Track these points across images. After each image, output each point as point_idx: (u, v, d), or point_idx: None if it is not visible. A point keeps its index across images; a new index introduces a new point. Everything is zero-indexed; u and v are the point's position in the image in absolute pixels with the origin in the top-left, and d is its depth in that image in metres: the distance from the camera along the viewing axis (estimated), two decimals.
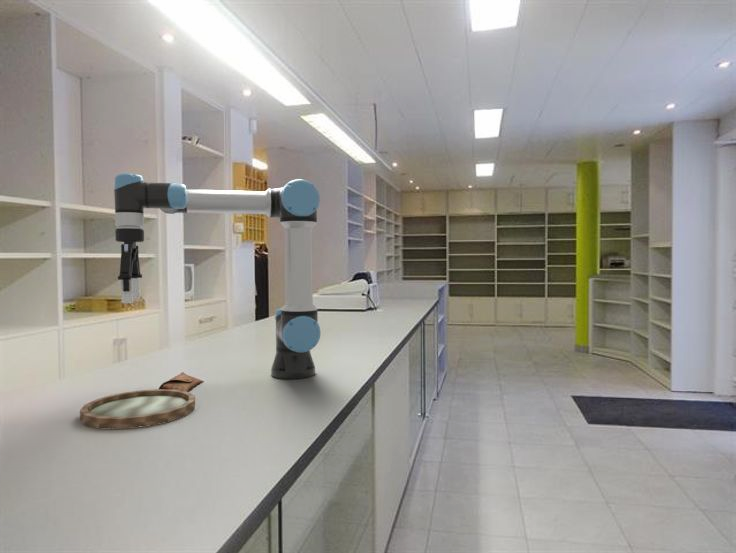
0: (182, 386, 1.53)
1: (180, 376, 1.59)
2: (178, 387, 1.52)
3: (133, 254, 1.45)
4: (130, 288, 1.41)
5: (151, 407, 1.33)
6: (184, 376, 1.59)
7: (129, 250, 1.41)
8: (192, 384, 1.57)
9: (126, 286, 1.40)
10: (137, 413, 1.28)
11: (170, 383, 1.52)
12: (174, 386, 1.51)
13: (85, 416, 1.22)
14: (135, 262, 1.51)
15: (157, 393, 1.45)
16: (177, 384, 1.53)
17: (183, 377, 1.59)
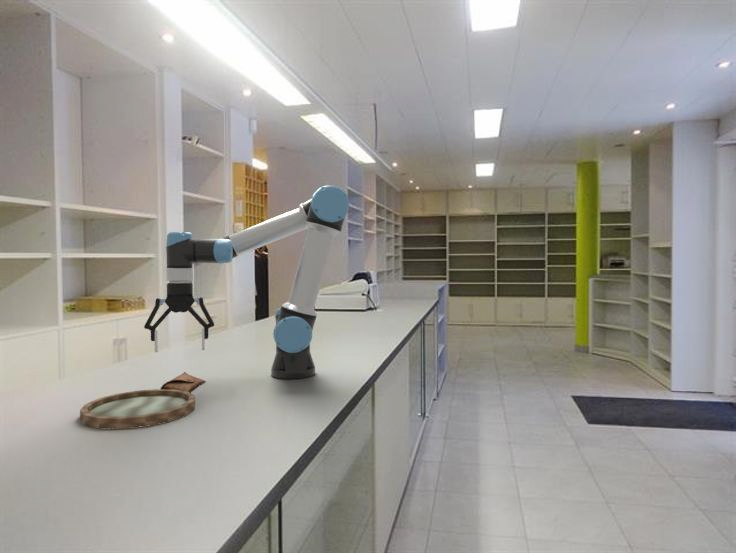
0: (184, 386, 1.53)
1: (182, 376, 1.59)
2: (180, 387, 1.52)
3: None
4: None
5: (151, 407, 1.33)
6: (186, 376, 1.59)
7: (155, 304, 1.54)
8: (194, 385, 1.57)
9: (151, 336, 1.55)
10: (137, 413, 1.28)
11: (172, 383, 1.52)
12: (176, 386, 1.51)
13: (85, 416, 1.22)
14: None
15: (157, 393, 1.45)
16: (179, 384, 1.53)
17: (185, 377, 1.59)
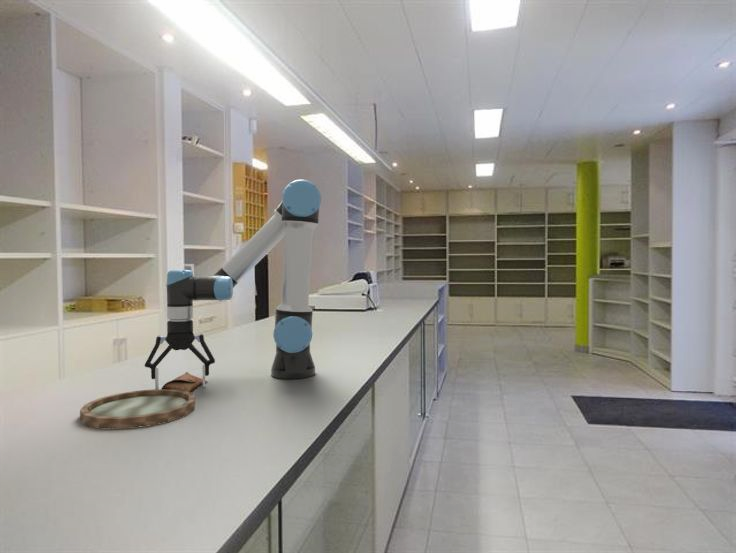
0: (185, 386, 1.52)
1: (184, 376, 1.59)
2: (181, 387, 1.51)
3: (169, 345, 1.55)
4: None
5: (151, 407, 1.33)
6: (188, 377, 1.59)
7: None
8: (196, 385, 1.57)
9: None
10: (137, 413, 1.28)
11: (173, 383, 1.52)
12: (177, 386, 1.51)
13: (85, 416, 1.22)
14: (192, 351, 1.58)
15: (157, 393, 1.45)
16: (180, 384, 1.53)
17: (187, 377, 1.59)
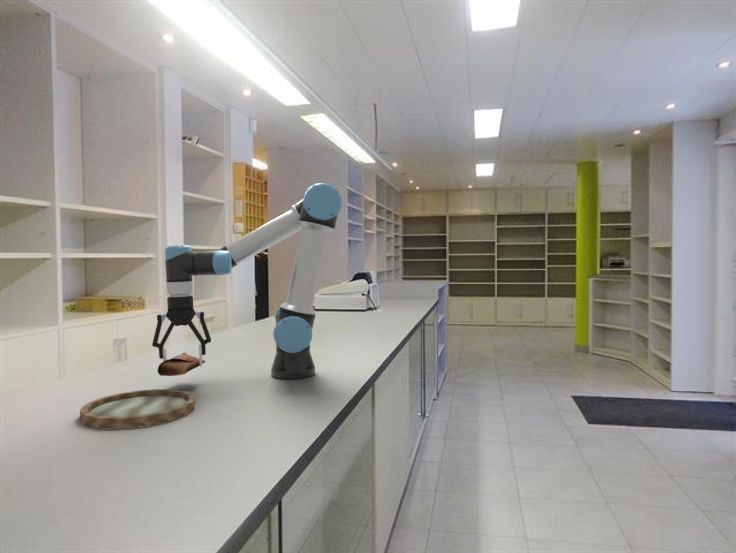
0: (182, 365, 1.52)
1: (181, 355, 1.59)
2: (178, 365, 1.51)
3: (171, 322, 1.55)
4: (163, 356, 1.55)
5: (151, 407, 1.33)
6: (185, 356, 1.59)
7: None
8: (193, 363, 1.57)
9: None
10: (137, 413, 1.28)
11: (170, 362, 1.52)
12: (174, 365, 1.51)
13: (85, 416, 1.22)
14: None
15: (157, 393, 1.45)
16: (177, 363, 1.53)
17: (184, 356, 1.58)
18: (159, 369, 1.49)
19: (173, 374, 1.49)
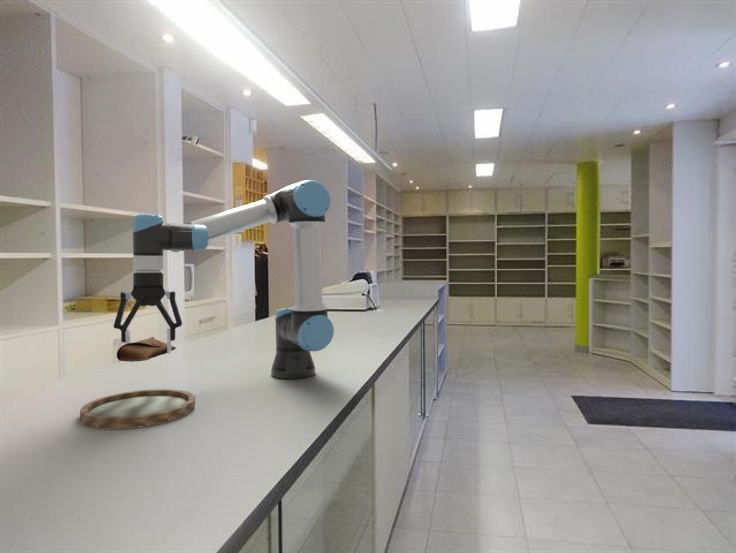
0: (145, 350, 1.33)
1: (147, 340, 1.40)
2: (140, 350, 1.32)
3: (136, 301, 1.37)
4: None
5: (151, 407, 1.33)
6: (152, 341, 1.40)
7: None
8: (160, 349, 1.38)
9: None
10: (137, 413, 1.28)
11: (132, 346, 1.33)
12: (136, 349, 1.32)
13: (85, 416, 1.22)
14: None
15: (157, 393, 1.45)
16: (140, 347, 1.34)
17: (150, 341, 1.40)
18: (118, 353, 1.30)
19: (134, 359, 1.30)
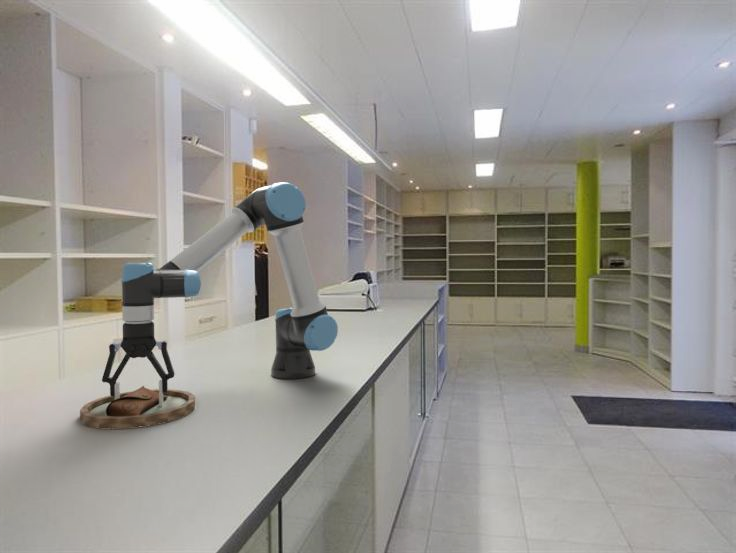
0: (136, 404, 1.28)
1: (137, 391, 1.34)
2: (131, 405, 1.27)
3: (126, 353, 1.31)
4: None
5: None
6: (142, 392, 1.34)
7: None
8: (151, 402, 1.32)
9: None
10: None
11: (122, 401, 1.27)
12: (126, 404, 1.26)
13: (85, 416, 1.22)
14: None
15: None
16: (131, 402, 1.28)
17: (141, 393, 1.34)
18: (108, 410, 1.24)
19: (124, 416, 1.24)
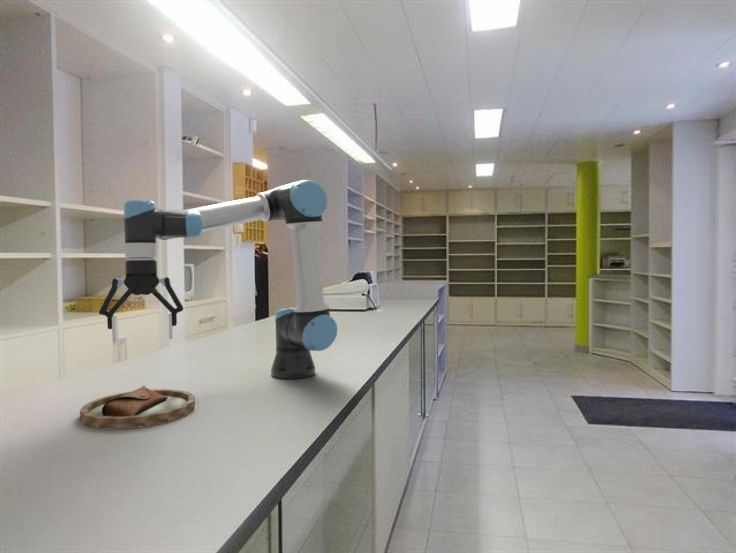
0: (132, 405, 1.27)
1: (136, 391, 1.34)
2: (127, 405, 1.26)
3: (128, 289, 1.32)
4: None
5: (151, 407, 1.33)
6: (141, 392, 1.34)
7: None
8: (148, 402, 1.32)
9: None
10: None
11: (119, 400, 1.27)
12: (122, 404, 1.26)
13: (85, 416, 1.22)
14: (156, 297, 1.34)
15: None
16: (127, 402, 1.28)
17: (139, 393, 1.34)
18: (104, 409, 1.24)
19: (120, 416, 1.24)
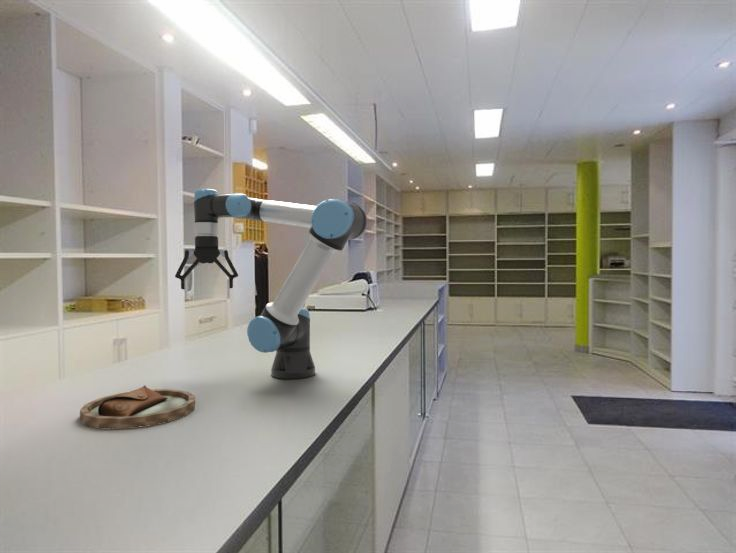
0: (128, 405, 1.27)
1: (135, 391, 1.34)
2: (123, 405, 1.26)
3: (197, 258, 1.69)
4: (184, 287, 1.69)
5: (151, 407, 1.33)
6: (140, 392, 1.34)
7: None
8: (146, 403, 1.32)
9: (181, 285, 1.69)
10: (137, 413, 1.28)
11: (115, 400, 1.27)
12: (118, 404, 1.26)
13: (85, 416, 1.22)
14: None
15: None
16: (124, 402, 1.28)
17: (138, 393, 1.34)
18: (100, 409, 1.25)
19: (115, 416, 1.24)
